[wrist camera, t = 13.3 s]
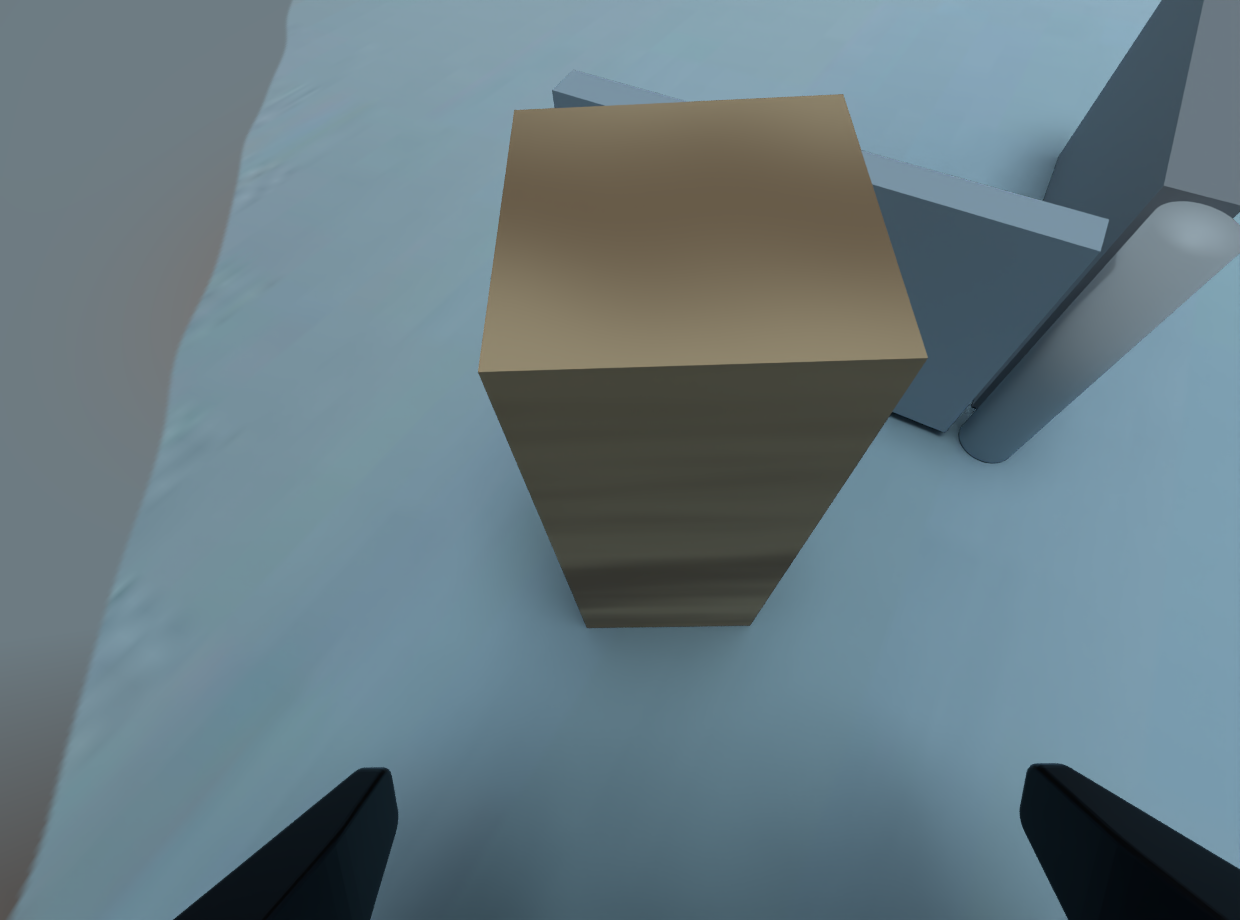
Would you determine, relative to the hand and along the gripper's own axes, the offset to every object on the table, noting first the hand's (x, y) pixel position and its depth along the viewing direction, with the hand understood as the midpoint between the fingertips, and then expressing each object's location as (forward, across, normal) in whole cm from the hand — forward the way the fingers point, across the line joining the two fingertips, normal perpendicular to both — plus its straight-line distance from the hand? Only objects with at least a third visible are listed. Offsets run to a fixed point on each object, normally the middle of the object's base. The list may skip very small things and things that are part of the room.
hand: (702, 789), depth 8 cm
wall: (+18, -15, -6) cm, 25 cm away
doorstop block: (+11, 0, +1) cm, 11 cm away
